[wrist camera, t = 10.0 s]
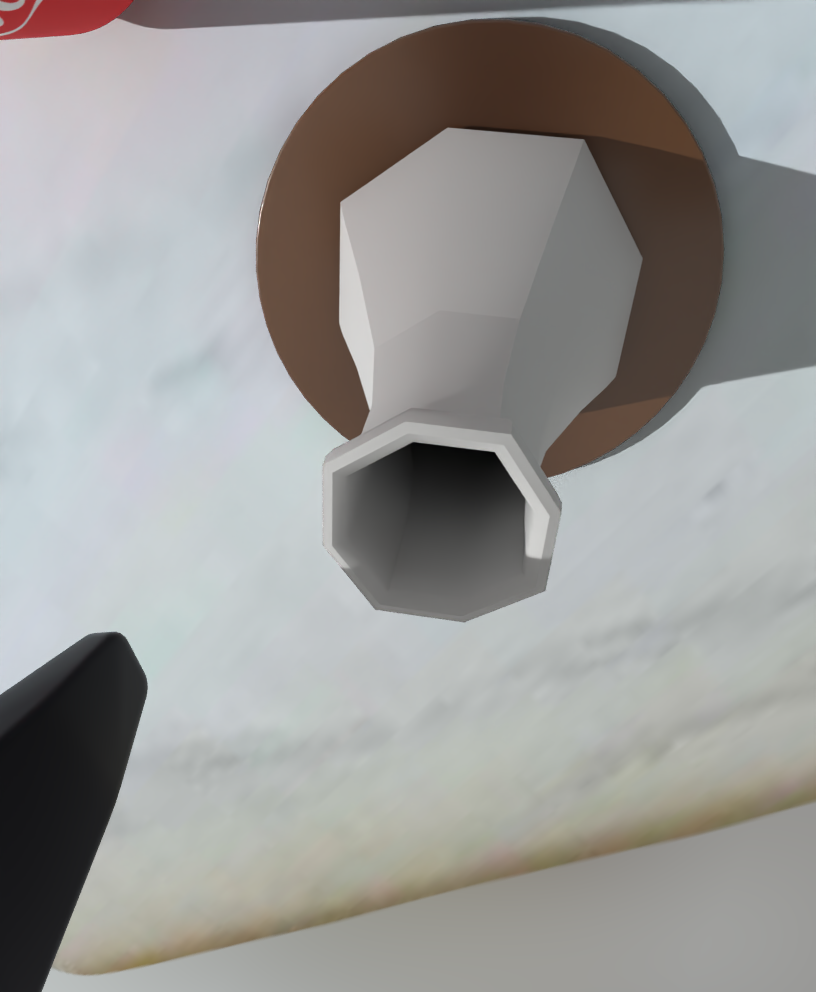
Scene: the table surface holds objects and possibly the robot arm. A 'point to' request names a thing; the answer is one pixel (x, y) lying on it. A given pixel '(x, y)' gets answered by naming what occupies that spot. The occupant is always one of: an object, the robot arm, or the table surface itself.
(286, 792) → the table surface
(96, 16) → the beverage can
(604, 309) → the flask
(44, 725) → the robot arm
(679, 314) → the coaster
